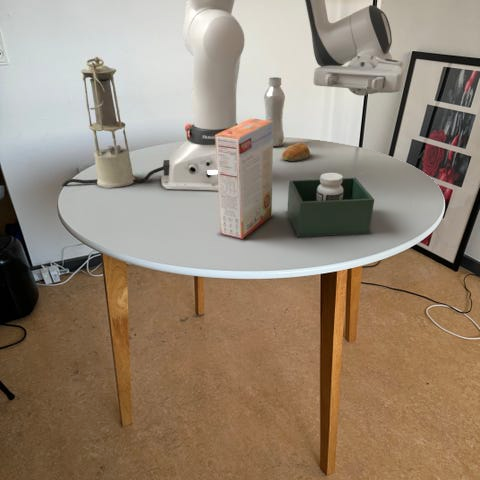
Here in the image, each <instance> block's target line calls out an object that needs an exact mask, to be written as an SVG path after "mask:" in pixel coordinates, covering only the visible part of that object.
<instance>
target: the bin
mask: <svg viewBox="0 0 480 480" xmlns="http://www.w3.org/2000/svg"><path fill="white" fill-rule="evenodd" d="M320 184H321V183H320V178H313V179H312V178H311V179H290V180H288V188H287V189H288V191H287V192H288V193H287V208H286V209H287V211H286V213H287V215H288V217H289V219H290V221H291V224H292V226H293V228H294V231H295V233H296V236H297V238H308V237H328V236H329V237H331V236H348V235H349V236H350V235H369V234H370V230H371V222H372V216H373V211H374V205H375V198H373V196H372V195H371V194H370V193H369V191H367V189H366V188H365V187H364V186H363V184H362V183H361V182H360V181H359V180H358V179H357V178H356V177H343V180H342V183H341V186H342V187H343V199H342V200H328V201H316V196H317V188H318V186H319V185H320Z"/></svg>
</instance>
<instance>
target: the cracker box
mask: <svg viewBox="0 0 480 480" xmlns="http://www.w3.org/2000/svg"><path fill="white" fill-rule="evenodd" d="M237 124H238V125H236V126H234V127H231V128H229V129H227V130H225V131H222V132H220V133H218V134H216V135H215V144H216V161H217V178H218V190H217V193H218V196H217V197H218V212H219V213H218V214H219V227H220V235H223V236H227V237H232V238H237V239H241V240H243V239H244V238H246V237H247V236H248V235H250V234H251V233H252V232H253V231H254V230H256V229H257V228H259V226H261V225H262V224H263V223H264V222H265V221H266V220H268V219H269V218H271V217H272V214H273V163H274V161H273V159H274V158H273V155H274V146H273V121H267V120H266V119H265V120H264V119H259V118H249V119H246V120H245V121H242V122H240V123H237Z"/></svg>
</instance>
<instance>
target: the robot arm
mask: <svg viewBox="0 0 480 480" xmlns="http://www.w3.org/2000/svg"><path fill="white" fill-rule="evenodd" d="M304 1H305V6H306V12H307V17H308V22H309V27H310V33H311V40H312V50H313V55H314V58H315V59H314V60H315V61H316V64H317V65H318V67H316V68H315V69H314V71H313V80H312V81H313V85H314V86H318V87H328V88H340V89H341V88H343V89H348V90H349V91H350V92H351V93H352V94H354V95H356V96H359V97H361V96H367V95H374V94H378V93H379V94H384V93H389V94H391V93H393V94H394V93H399V92H400V91H401V89H402V83H403V78H404V77H403V76H404V72H405V69H404V62H403V61H402V60H396V59H393V57H392V55H391V53H390V50H391V46H392V43H393V38H392V30H391V26H390V21H389V19H388V17H387V14H386V13H385V12H384V11H383V10H382V9H381V8H379V7H377V6H376V5H373V4H370V5H368V6H365V7H363V8H361V9H359V10H356V11H354V12H353V13H351V14H350V15H348V16H345V17H343V18H341V19H339V20H337V21H335V22H330V21H329V18H328V12H327V11H328V10H327V6H326V0H304ZM234 5H235V0H186V5H185V6H186V7H185V13H184V20H183V21H184V22H183V27H182V38H183V43H184V46H185V48H186V49H187V51H188V53H190V55H192V57H193V61H194V62H193V65H194V66H193V79H192V80H193V81H192V89H191V101H192V116H193V118H192V119H193V124H191V123H190V122H189V123H186V124H185V126H184V131H185V132H186V141H185V142H184V143H182V145H180V146H179V147H178V148H177V149H176V150H175V151H174V152H173V153H172V154H171V156H170V157H169V159H163V161H162V163H163V164H162V166H159V167H158V168H154V169H153V170H151V171H149V172H148V173H147V174H146V176H144V177H143V178H139V179H135V180H133V183H132V184H141V183H145V182H146V181H148V180H149V179H150V178H151V177H152V176H153V175H154V174H156V173H159V172H162V171H163V172H162V175H161V181H160V183H161V186H162V187H163V188H164V189H166V190H181V191H182V190H187V191H218V178H217V161H216V144H215V135H216V134H218V133H220V132H222V131H225V130H227V129H229V128H231V127H234V126H236V125H238V124H239V123H238V122H237V87H238V79H239V73H240V65H241V57H242V54H243V51H244V49H245V41H246V40H245V33H244V30H243V28H242V26H241V24H240V22H239V21H238V20H237V19H236V18H235V16H233V15H232V13H233V9H234ZM347 63H348V65H347V66H346V65H345V64H347ZM344 65H345V66H344ZM97 181H98V178H97V179H79V178H68V179H67V180H65V181H63V182H62V184H61V187H66V186H67V185H68V184H70V183H78V184H97Z"/></svg>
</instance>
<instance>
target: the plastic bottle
mask: <svg viewBox="0 0 480 480" xmlns="http://www.w3.org/2000/svg"><path fill="white" fill-rule="evenodd" d="M268 86H269V87H268V88H267V89H266V91H265V93H264V96H263V101H264V111H265V120H267V121H273V147H278V146H282V144H283V143H284V139H285V134H284V123H283V118H284V117H283V115H284V107H285V101H286V96H285V92H284V91H283V89H282V87H281V86H282V77H277V76H275V77H269V78H268Z"/></svg>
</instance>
